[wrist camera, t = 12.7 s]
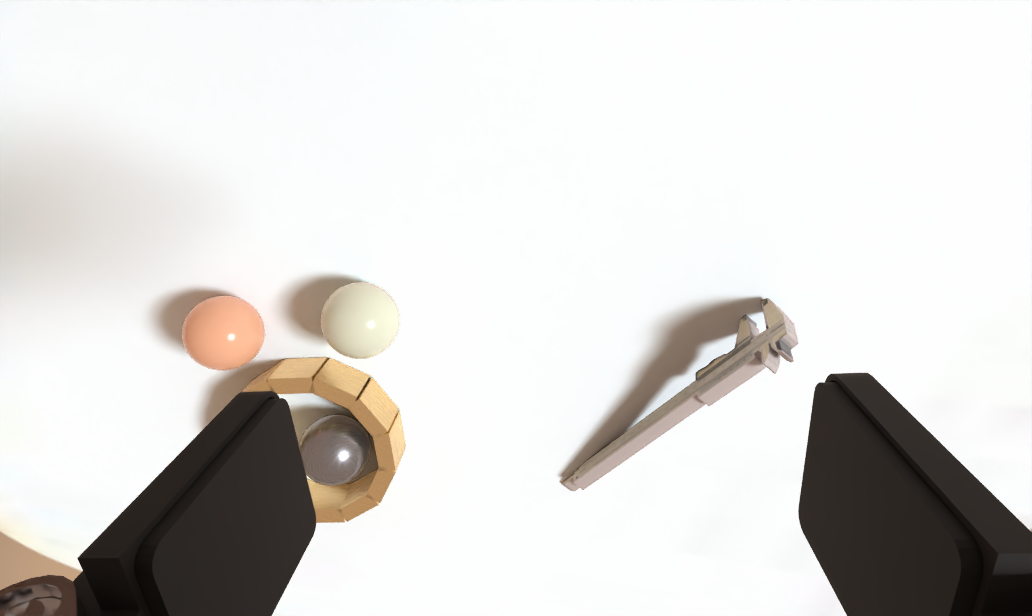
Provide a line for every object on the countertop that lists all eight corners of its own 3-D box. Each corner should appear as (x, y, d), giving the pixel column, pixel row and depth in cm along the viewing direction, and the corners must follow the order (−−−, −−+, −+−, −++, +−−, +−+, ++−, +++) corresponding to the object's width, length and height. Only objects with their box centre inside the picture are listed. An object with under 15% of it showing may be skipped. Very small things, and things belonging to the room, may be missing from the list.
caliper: (764, 293, 39) (800, 333, 33) (775, 303, 39) (813, 344, 33) (562, 480, 46) (562, 540, 40) (572, 488, 46) (575, 548, 40)
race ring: (225, 360, 43) (202, 380, 40) (390, 354, 42) (378, 375, 39) (264, 496, 48) (246, 523, 45) (413, 494, 47) (404, 521, 44)
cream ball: (330, 273, 40) (300, 300, 35) (402, 270, 40) (381, 296, 35) (343, 340, 42) (317, 373, 37) (412, 337, 41) (394, 371, 37)
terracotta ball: (200, 286, 41) (154, 314, 36) (268, 283, 41) (231, 311, 36) (218, 351, 43) (177, 385, 38) (284, 348, 42) (251, 383, 38)
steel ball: (281, 420, 42) (306, 451, 38) (346, 394, 45) (376, 420, 41) (295, 476, 44) (321, 511, 40) (357, 448, 47) (387, 478, 43)
